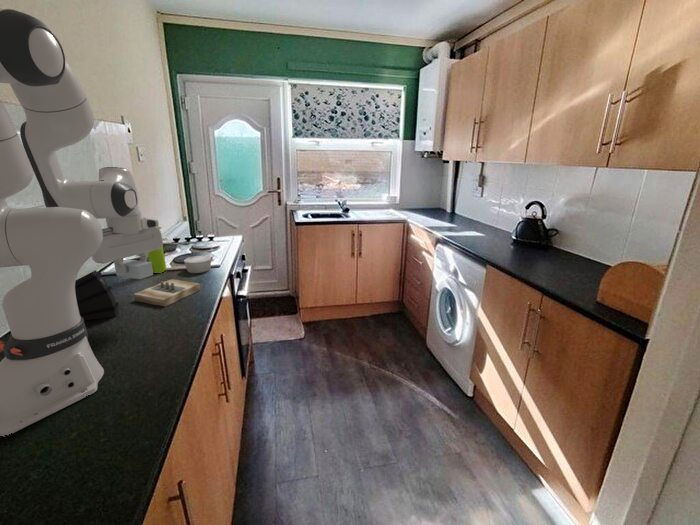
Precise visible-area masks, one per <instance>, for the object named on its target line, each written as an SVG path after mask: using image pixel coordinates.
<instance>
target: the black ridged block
mask: <svg viewBox="0 0 700 525" xmlns="http://www.w3.org/2000/svg"><path fill="white" fill-rule="evenodd" d="M112 289H113V288H112V286H111V285H108V283H107V282H106V281H105V279H104V277H102V273H101V271H100V272H98V271H97V270H96V269H95V270H93V271H92V272H89V273H88V274H85V275H84V276H82V277H79V278H78V279H77V278H76V282H75V293H76V299H77V305H78V309H79V313H80V316H81V317H82V318H83V320H84V321H90V320H100V319H108V318H116V317H117V316H118V315H119V308H118V307H119V306H120V305H119V302H116V299H115V296H114V294H113V292H112Z"/></svg>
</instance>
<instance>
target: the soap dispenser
mask: <svg viewBox="0 0 700 525" xmlns="http://www.w3.org/2000/svg"><path fill="white" fill-rule="evenodd" d="M157 228H159V229H160V230H161V229H162V228H163V227H161V226H158V227H157ZM164 252H165V251H164V246H162V248H161V249H157V250H153V251H150V252H148V260H149V261H148V262H151V264H152V269H153V273H160V274H163V273H162V272H164V271H165V270H166V269H167V265H166V260H165V253H164ZM164 273H165V272H164Z"/></svg>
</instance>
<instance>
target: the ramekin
mask: <svg viewBox="0 0 700 525" xmlns="http://www.w3.org/2000/svg"><path fill="white" fill-rule="evenodd" d="M183 263H184V265H185V268H186V271H187V272H188V273H190V274H201V273H205V272H209V271H210V270H211V267H212V257H211V256H210V255H196V256H195V255H194V256H189V257H187V258H185V259H183Z"/></svg>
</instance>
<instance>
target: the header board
mask: <svg viewBox="0 0 700 525" xmlns="http://www.w3.org/2000/svg"><path fill="white" fill-rule="evenodd" d="M159 282H160V283H158V284H156V285H153V286H150V287H147V288H145V289H143V290H140V291H138V292H135V293H133V297H134V298H133V299H134V300H135V302H141V303H144V304H145V303H146V304H151V305H155V306H160V307H167V306H168V307H169V305H171V304H173V303H176V302H178V301H180V300H183V299H184V298H187V297H188V296H191V295H193V294H195V293H197V292H199V291H201V289H202V288H201V284H200V283H198V282H191V281H186V280H179V279H175V278H174V279H172V278H171V279H168V280H166V281H164V280H161V281H159Z"/></svg>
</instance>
